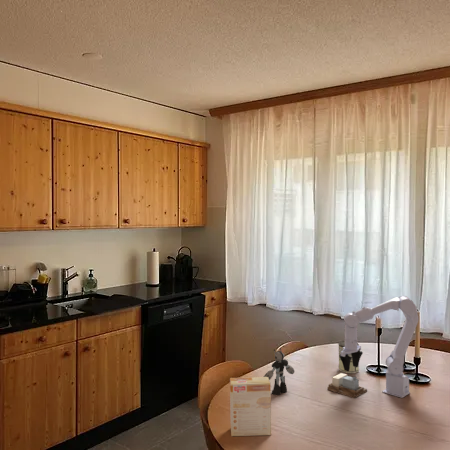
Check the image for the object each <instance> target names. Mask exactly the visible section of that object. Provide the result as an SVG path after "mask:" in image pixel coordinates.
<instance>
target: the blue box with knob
mask: <svg viewBox="0 0 450 450" xmlns="http://www.w3.org/2000/svg"><path fill="white" fill-rule="evenodd" d="M359 382H360V381H359V378H357V376H350V375H349V376H348V375H347V376H346V377H344V378H343V387H345V388H348V389H351V390H355V391H356V390H358V389H359V385H360V384H359Z"/></svg>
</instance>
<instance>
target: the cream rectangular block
mask: <svg viewBox="0 0 450 450" xmlns="http://www.w3.org/2000/svg"><path fill="white" fill-rule="evenodd" d="M346 376H348V373H344V372H340V373H338V374H336V375H334V376H333V377H332V379H331V380H332V382H331V383H332V385H333V386H336V387H339V386H341V385H343V378H344V377H346Z"/></svg>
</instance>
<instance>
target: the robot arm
mask: <svg viewBox="0 0 450 450" xmlns="http://www.w3.org/2000/svg"><path fill="white" fill-rule="evenodd" d="M399 309H400V310H399ZM389 310H392V311H397V312H399V311H401V312H402V313H403V315H404V317H405V320H404V322H403V325H402V327H401V328H402V329H401V331H400V332H399V336H398V338H397V341H396V343H395V346H394V349H393V350H392V351H391V352H390V355H389V356H387V357H386V359H385V365H386V366H387V369H386V370H385V386H386V387H385V389H384V390H382V393H384V394H388V395H391V396H394V397H396V398H397V397H398V398H405V397H406V396H407V395H409V394H410V379H409V376H407V375H405V374H404V364H405V356H406V353H407V350H408V348H409V345H410V344H411V341H412V338H413V335H414V334H415V331H416V328H417V326H418V324H419V320H420V317H419V315H418V314H419V313H418V311H417V310H418V309H417V306H416V304H415V303H414V301H413V300H412V299H410V298H409V297H408V296H406V295H400V296H399V297H398V296H396V297H393V298H391V299H389V300H387V301H384V302H382V303H380V304H378V305H375V306H373V307H369V306H362V307H361V308H360V309H357V310H356V311H355V310H352V311H351V312H347V313H346V314H345V315H344V317H343V321H344V341H345V347H343V351H341V354H340V355H339V354H338V358H339V357H340V359H341V361H342V363H343V366H344V370H345V371H349V369H350V361H351V359H352V361H353V366H354V367H358V364H360V360H361V357H362V355H363V353H364V352H363V351H361V350H362V346H360V345H359V346H358V345H357V343H358V329H357V326H358V325H359V324H361V323H364V322H367V321H369V320H372V319H373V318H374V316H375V315H377V314H381V313H383V312H387V311H389ZM348 354H351V355H352V357H349V356H348Z"/></svg>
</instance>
